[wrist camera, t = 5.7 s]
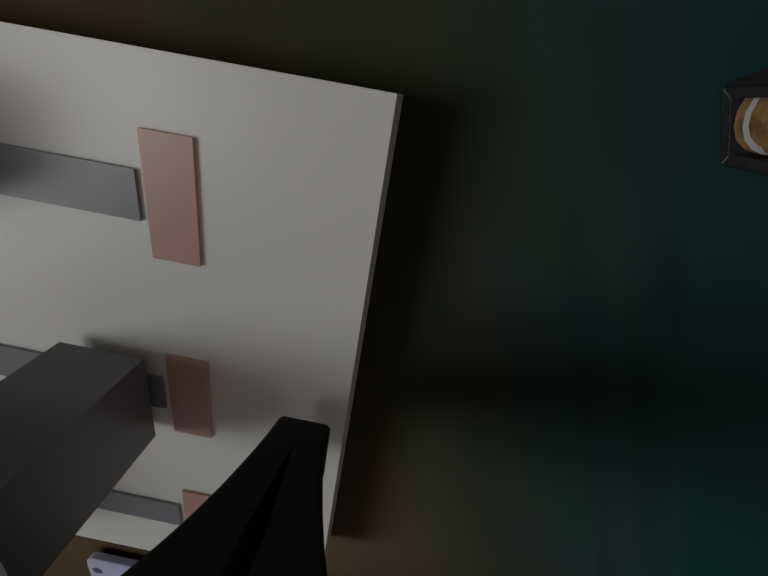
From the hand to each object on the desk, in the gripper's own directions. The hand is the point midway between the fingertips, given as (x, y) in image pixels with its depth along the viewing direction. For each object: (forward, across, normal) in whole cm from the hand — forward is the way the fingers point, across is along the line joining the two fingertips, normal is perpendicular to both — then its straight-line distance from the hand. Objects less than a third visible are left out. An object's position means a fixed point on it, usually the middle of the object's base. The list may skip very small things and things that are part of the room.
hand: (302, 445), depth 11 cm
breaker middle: (+1, +6, 0) cm, 6 cm away
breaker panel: (+3, +10, 0) cm, 10 cm away
